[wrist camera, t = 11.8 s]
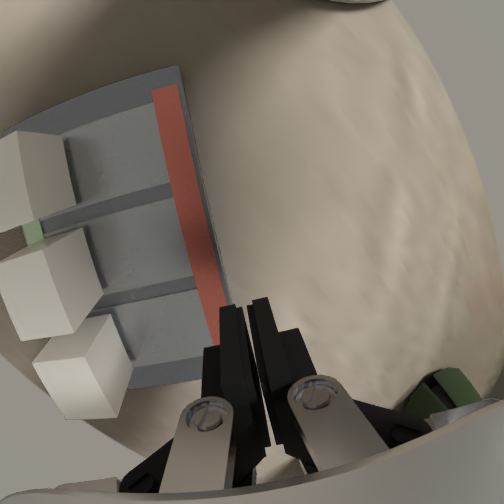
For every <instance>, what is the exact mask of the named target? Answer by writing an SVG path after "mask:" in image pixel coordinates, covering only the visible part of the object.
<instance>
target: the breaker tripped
mask: <svg viewBox="0 0 504 504" xmlns="http://www.w3.org/2000/svg"><path fill="white" fill-rule="evenodd" d="M32 365H33V367H34V368H35V370H36V372H37V374H38V376H39V377H40V379H41V381H42V383H43V384H44V386H45V388H46V389H47V391H48V393H49V394H50V396H51V398H52V399H53V401H54V403H55V404H56V405H57V407H58V409H59V410H60V412H61V413H62V415H63V416H64V418H65V419H66V420H77V419H79V420H81V419H106V418H118V414H119V411H120V408H121V405H122V402H123V399H124V395H125V392H126V389H127V386H128V383H129V380H130V377H131V374H132V371H133V366H132V364H131V362H130V359H129V357H128V355H127V353H126V350H125V348H124V346H123V343H122V341H121V339H120V336H119V334H118V331H117V329H116V327H115V324H114V322H113V319H112V316H111V314H107V315H101V316H96V317H91V318H85V319H84V320H83V322H82V323H81V325H80V326H79V327H78V329H77V330H76V331H75V333H73V334H66V335H60V336H54V337H51V339H50V340H49V341H48V342H47V344H46V345H45V346H44V348H43V349H42V350H41V351H40V353H39V354H38V355H37V357H36V358H35V359H34V360H33V362H32Z"/></svg>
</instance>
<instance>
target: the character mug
mask: <svg viewBox="0 0 504 504" xmlns="http://www.w3.org/2000/svg"><path fill="white" fill-rule="evenodd" d="M433 376H434V378H435V379H436V380H437V381H438V382H439V384H438V385H436V386H434V387H433V388H432V389H431V390H430V388H429V387H428V386H427V385H426V384H425V383H422V384H421V385H420V386H419V387H418V388H417V390H416V391H415V392H414V393H413V395H412V396H411V397H410V399H409V401H408V403H407V406H406V408H405V411H404V413H406V414H410V415H414V416H417V417H420V418H422V419H423V420H424V419H428V418H430V415H431V414H435V413H439V412H443V411H447V410H451V409H455V408H458V407H462V406H465V405H469V404H472V403H476V402H479V401H482V398H481V397H480V395H479V394H478V393H477V391H476V390H475V388H474V387H473V385H472V384H471V383H470V381H469V380H468V379H467V378H466V377H465V375H464V374H463V373H462V372H461V371H460V369H459V368H446V369H444V370H441V371H439V372H436V373H435V374H434V375H433Z"/></svg>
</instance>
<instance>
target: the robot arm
mask: <svg viewBox="0 0 504 504" xmlns="http://www.w3.org/2000/svg"><path fill="white" fill-rule="evenodd" d="M330 1H337V2H345V3H372V2H377V1H383V0H330ZM252 303H253V304H252V305H248V306H247V310H248V316H249V322H250V328H251V334H252V340H253V346H254V351H255V357H256V362H255V358H254V354H253V350H252V346H251V342H250V338H249V334H248V330H247V325H246V321H245V317H244V313H243V309H242V307H238V308H236V306H235V304H232V305H227V306H223V307H219V333H220V345H215V346H210V347H205V348H204V350H203V367H202V391H201V398H200V399H197V400H195V401H193V402H192V403H190V404H188V405H187V406H186V408H185V409H184V410H183V411H182V413H181V415H180V418H179V422H178V425H177V429H176V432H175V436H174V438H172V439H171V440H170V441H169V442H167V443H166V444H165V445H164V446H162V447H161V448H160V449H159V450H157V451H156V452H155V453H153V454H152V455H151V456H150V457H148V458H147V459H146V460H144V461H143V462H142V463H140V464H139V465H138V466H137V467H135V468H134V469H133V470H131V471H130V472H129V473H128V474H127V475H126V476H124V478H123V479H121V480H118V479H117V478H116V477H114V478H107V479H101V480H93V481H86V482H78V483H68V484H63V485H59V486H58V487H56V488H55V489H34V490H27V491H22V492H17V493H14V494H11V495H9V496H6V497H5V498H3V499H2V500H1V501H0V504H504V400H502V401H500V400H497V399H486V400H482V401H479V402H476V403H472V404H469V405H465V406H462V407H458V408H455V409H451V410H447V411H443V412H439V413H435V414H431V415H430V418H428V419H424V420H423V419H422V418H420V417H417V416H414V415H410V414H406V413H402V412H398V411H394V410H390V409H386V408H382V407H379V406H375V405H371V404H368V403H364V402H361V401H357V400H354V399H352V398H351V397H350V396H349V394H348V393H347V392H346V390H345V389H344V387H343V386H342V385H341V384H340V383H339V382H338V381H337V380H336V379H334V378H332V377H330V376H325V375H317V373H316V370H315V368H314V365H313V363H312V360H311V358H310V355H309V353H308V350H307V348H306V346H305V343H304V341H303V338H302V336H301V333H300V331H299V329H298V328H295V329H291V330H287V331H282V332H278V330H277V327H276V324H275V320H274V317H273V314H272V310H271V307H270V304H269V300H268V297H265V298H260V299H256V300H252ZM256 363H257V366H256ZM257 369H258V370H257ZM258 374H259V375H258ZM259 379H260V381H259ZM260 383H261V387H260ZM261 388H262V392H263V395H264V399H265V403H266V407H267V411H268V415H269V418H270V422H271V426H272V430H273V434H274V437H275V441H276V445H280V444H283V445H284V449H285V453H286V454H288V455H290V456H293V457H295V458H297V459H299V462H300V465H301V467H302V470H303V472H304V474H305V475H304V476H299V477H295V478H290V479H285V480H280V481H275V482H270V483H264V484H258V485H256V475H257V473H256V466H257V464H258V463H259V462H260V461H261V460H262V459H263V458H264V457H266V452H265V447H270V446H271V442H270V437H269V431H268V426H267V420H266V415H265V409H264V404H263V398H262V392H261Z"/></svg>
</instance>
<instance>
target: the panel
mask: <svg viewBox="0 0 504 504" xmlns="http://www.w3.org/2000/svg"><path fill="white" fill-rule="evenodd" d="M15 131H26V132H35V133H43V134H51V135H59V136H62V138H63V144H64V150H65V155H66V160H67V165H68V170H69V175H70V179H71V184H72V188H73V192H74V197H75V201H76V205H75V206H72V207H69V208H66V209H63V210H61V211H58V212H55V213H52V214H50V215H47V216H44V217H42V218H39V219H36V220H34V221H31V222H28V223H26V224H23V225H21V228H22V231H23V235H24V238H25V242H26V245H27V246H29V245H31V244H33V243H34V242H37V241H40V240H43V239H46V238H49V237H53V236H56V235H59V234H62V233H65V232H69V231H72V230H75V229H79V228H82V227H83V231H84V234H85V238H86V241H87V245H88V248H89V251H90V254H91V258H92V261H93V264H94V267H95V270H96V273H97V276H98V279H99V282H100V285H101V288H102V290H103V293H104V294H103V295H102V297H101V298H100V299H99V301H98V302H97V303H96V304H95V306H94V307H93V308H92V310H91V311H90V312H89V314H88V315H87V316H86V318H91V317H96V316H101V315H107V314H111V316H112V319H113V322H114V324H115V327H116V329H117V331H118V334H119V336H120V339H121V341H122V343H123V346H124V348H125V350H126V353H127V355H128V357H129V359H130V362H131V364H132V366H133V371H132V374H131V377H130V380H129V383H128V386H127V389H126V390H129V389H138V388H146V387H153V386H160V385H167V384H174V383H180V382H186V381H192V380H198V379H202V367H203V350H204V348H205V347H210V346H215V345H220V333H219V307H223V306H227V305H232V300H231V296H230V292H229V288H228V284H227V280H226V276H225V272H224V267H223V263H222V259H221V255H220V251H219V246H218V242H217V238H216V234H215V229H214V225H213V221H212V216H211V212H210V208H209V203H208V199H207V194H206V190H205V185H204V181H203V176H202V171H201V167H200V162H199V158H198V153H197V148H196V143H195V139H194V134H193V129H192V124H191V119H190V114H189V109H188V104H187V99H186V94H185V89H184V84H183V79H182V74H181V71H180V68H179V65H174V66H170V67H166V68H162V69H158V70H155V71H151V72H148V73H144V74H141V75H137V76H134V77H131V78H128V79H124V80H121V81H118V82H115V83H112V84H109V85H106V86H104V87H101V88H98V89H95V90H93V91H90V92H87V93H85V94H82V95H80V96H77V97H75V98H72V99H70V100H67V101H65V102H63V103H60V104H58V105H56V106H53V107H51V108H49V109H47V110H45V111H42V112H40V113H38V114H36V115H34V116H32V117H30V118H28V119H26V120H24V121H22V122H20V123H18V124H16V125H14V126H12V127H10V128H8V129H7V130H5V131H3V137H5V136H7V135H9V134H11V133H13V132H15Z"/></svg>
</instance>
